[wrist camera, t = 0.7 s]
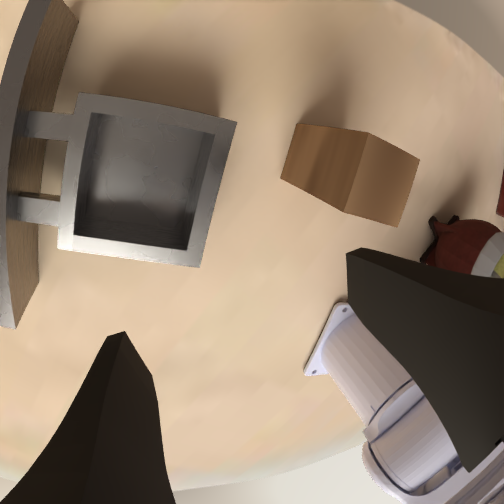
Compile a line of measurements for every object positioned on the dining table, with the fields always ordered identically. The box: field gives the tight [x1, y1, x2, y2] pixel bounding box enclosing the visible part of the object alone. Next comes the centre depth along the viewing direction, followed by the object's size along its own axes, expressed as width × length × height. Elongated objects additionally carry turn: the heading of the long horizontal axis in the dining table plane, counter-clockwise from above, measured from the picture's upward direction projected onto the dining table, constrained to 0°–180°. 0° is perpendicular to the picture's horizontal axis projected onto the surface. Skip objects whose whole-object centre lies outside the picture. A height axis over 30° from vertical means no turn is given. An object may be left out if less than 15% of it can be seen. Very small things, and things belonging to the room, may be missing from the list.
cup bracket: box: [0, 0, 237, 329], centre depth 13 cm, size 11×16×5 cm
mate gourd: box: [420, 215, 504, 278], centre depth 19 cm, size 8×8×15 cm
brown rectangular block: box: [280, 124, 420, 227], centre depth 16 cm, size 4×4×7 cm
